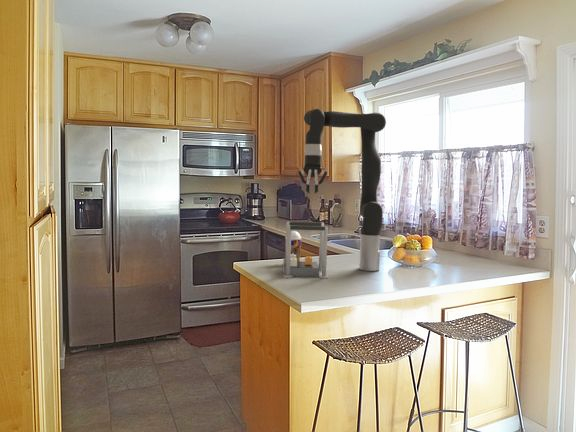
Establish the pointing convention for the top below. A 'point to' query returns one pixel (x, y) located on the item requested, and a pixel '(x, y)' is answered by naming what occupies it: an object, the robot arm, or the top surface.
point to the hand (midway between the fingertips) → (311, 192)
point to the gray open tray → (302, 269)
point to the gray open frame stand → (322, 244)
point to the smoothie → (295, 244)
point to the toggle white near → (293, 262)
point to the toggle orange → (308, 260)
